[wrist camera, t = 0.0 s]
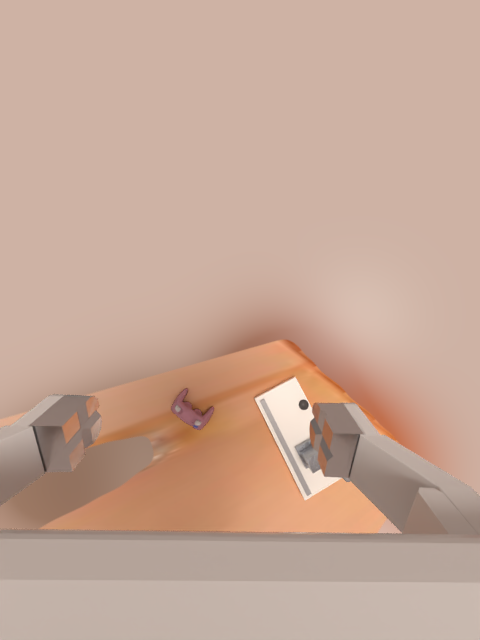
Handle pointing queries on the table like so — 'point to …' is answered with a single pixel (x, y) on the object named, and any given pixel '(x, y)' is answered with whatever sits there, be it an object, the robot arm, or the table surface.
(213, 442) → the table surface
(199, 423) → the video game controller
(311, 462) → the leg
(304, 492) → the gauge board
